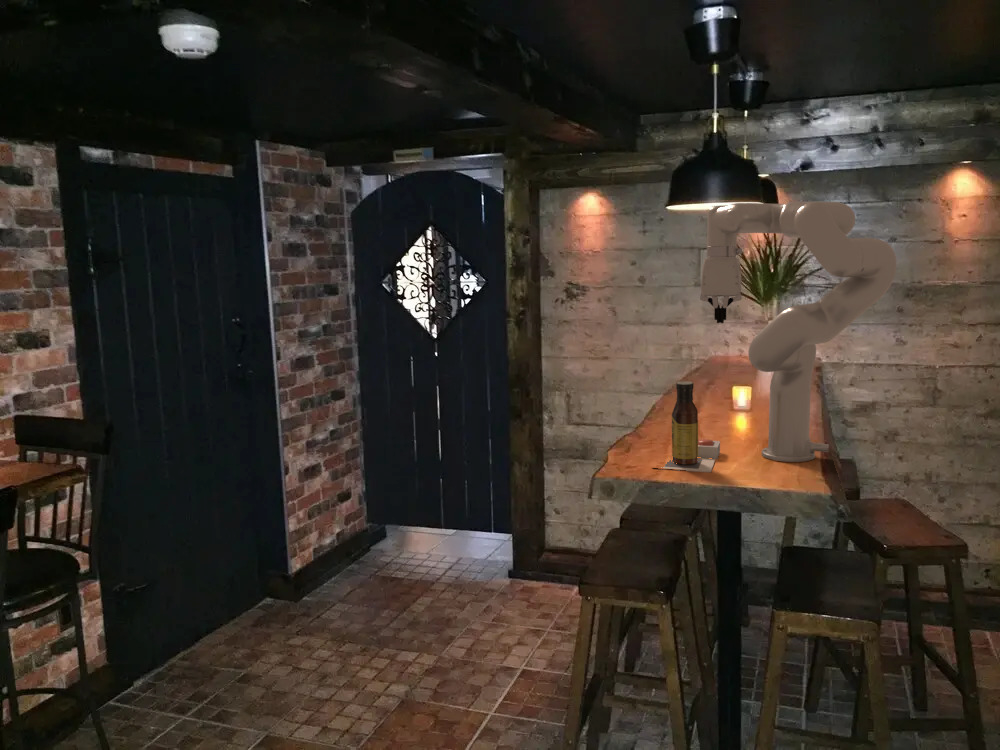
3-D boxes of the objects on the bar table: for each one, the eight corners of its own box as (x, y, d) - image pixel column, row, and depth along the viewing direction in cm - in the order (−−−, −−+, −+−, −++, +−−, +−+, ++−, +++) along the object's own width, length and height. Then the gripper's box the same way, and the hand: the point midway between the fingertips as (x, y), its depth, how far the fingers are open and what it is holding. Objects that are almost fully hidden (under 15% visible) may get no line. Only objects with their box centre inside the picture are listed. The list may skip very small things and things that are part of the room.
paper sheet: (715, 460, 205) (715, 458, 205) (710, 472, 194) (710, 470, 193) (658, 456, 209) (658, 455, 209) (650, 468, 198) (650, 467, 198)
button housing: (719, 452, 212) (720, 441, 212) (717, 459, 205) (717, 447, 205) (692, 451, 214) (692, 439, 214) (688, 457, 208) (689, 445, 207)
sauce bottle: (679, 458, 206) (680, 379, 203) (702, 461, 202) (703, 381, 199) (666, 463, 201) (667, 382, 198) (690, 467, 197) (691, 385, 194)
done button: (713, 451, 211) (713, 439, 211) (712, 454, 207) (712, 443, 207) (697, 450, 212) (697, 438, 212) (695, 454, 209) (695, 442, 208)
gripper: (751, 252, 219) (750, 321, 222) (694, 253, 224) (693, 321, 227) (750, 252, 212) (748, 324, 215) (691, 254, 217) (690, 323, 220)
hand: (720, 322), depth 221 cm, fingers closed
